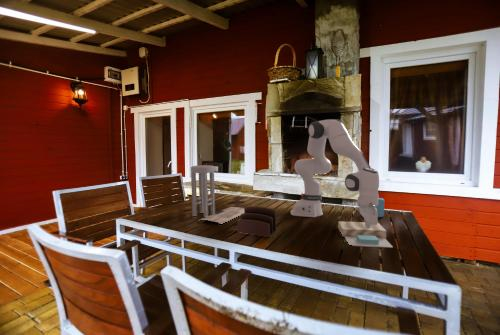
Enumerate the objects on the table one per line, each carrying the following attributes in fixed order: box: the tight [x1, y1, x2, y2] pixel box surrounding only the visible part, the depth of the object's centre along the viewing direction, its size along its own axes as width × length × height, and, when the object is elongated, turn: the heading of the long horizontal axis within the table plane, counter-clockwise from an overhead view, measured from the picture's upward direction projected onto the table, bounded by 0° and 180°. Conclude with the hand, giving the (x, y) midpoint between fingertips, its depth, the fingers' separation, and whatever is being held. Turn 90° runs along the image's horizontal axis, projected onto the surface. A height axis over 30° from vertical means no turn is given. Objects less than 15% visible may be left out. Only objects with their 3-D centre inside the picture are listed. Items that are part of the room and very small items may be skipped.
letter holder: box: [236, 206, 277, 238], centre depth 151 cm, size 10×20×14 cm, turn 64°
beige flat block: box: [337, 220, 387, 239], centre depth 149 cm, size 22×14×4 cm, turn 80°
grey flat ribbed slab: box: [198, 206, 245, 225], centre depth 185 cm, size 37×19×3 cm, turn 151°
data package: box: [375, 197, 385, 218], centre depth 182 cm, size 12×4×12 cm, turn 63°
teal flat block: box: [357, 235, 379, 244], centre depth 135 cm, size 9×6×2 cm, turn 81°
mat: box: [344, 236, 394, 249], centre depth 135 cm, size 20×12×1 cm, turn 80°
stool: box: [190, 164, 216, 218], centre depth 187 cm, size 16×16×35 cm
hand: (367, 227), depth 135 cm, fingers closed
